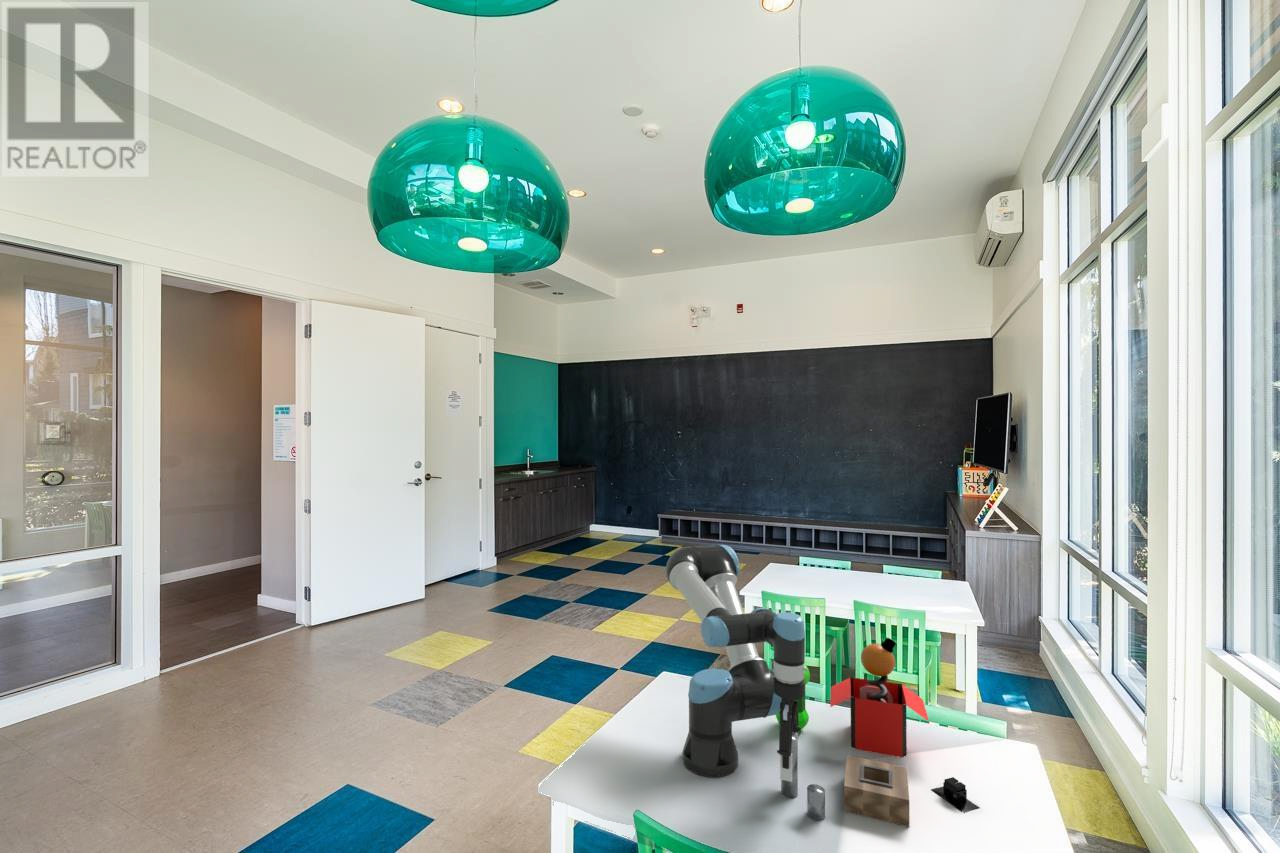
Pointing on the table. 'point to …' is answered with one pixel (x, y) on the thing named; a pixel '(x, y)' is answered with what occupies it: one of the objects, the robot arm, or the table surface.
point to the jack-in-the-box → (878, 704)
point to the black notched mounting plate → (955, 795)
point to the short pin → (816, 802)
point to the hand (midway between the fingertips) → (789, 768)
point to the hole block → (876, 790)
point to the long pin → (789, 787)
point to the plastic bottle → (801, 705)
